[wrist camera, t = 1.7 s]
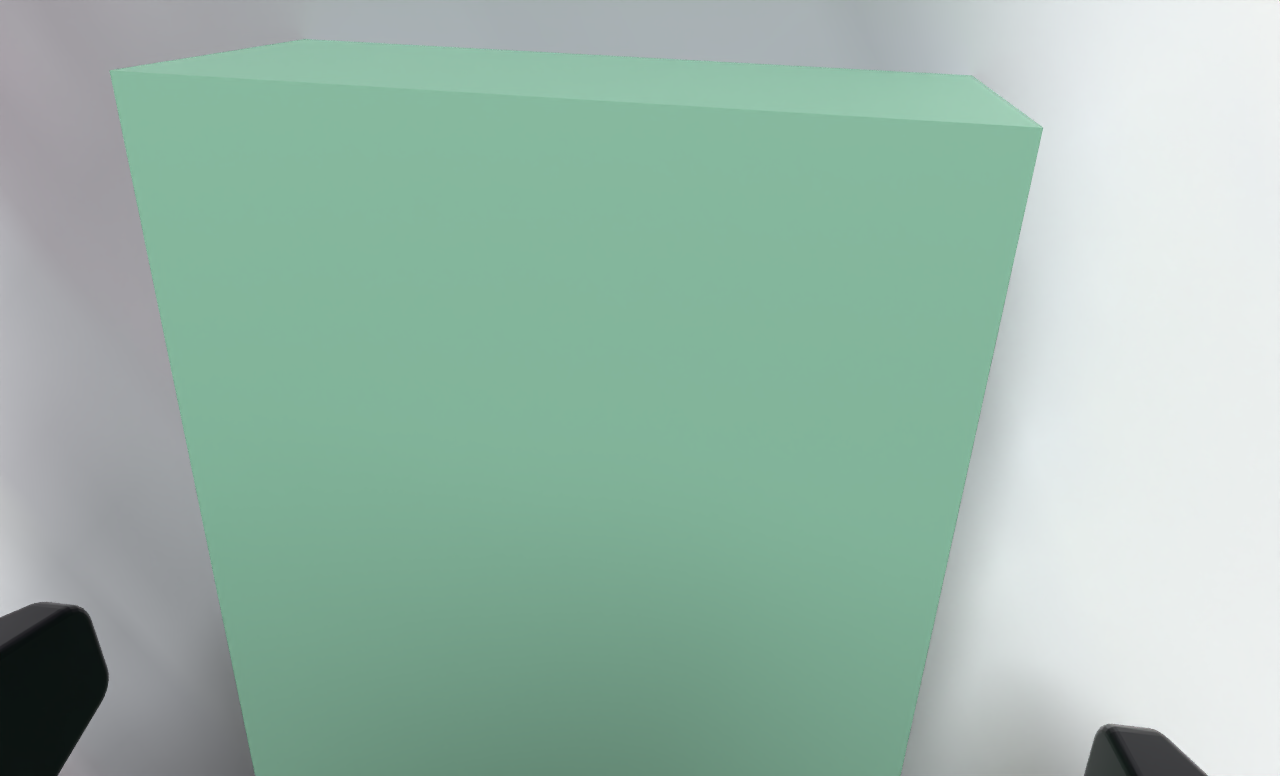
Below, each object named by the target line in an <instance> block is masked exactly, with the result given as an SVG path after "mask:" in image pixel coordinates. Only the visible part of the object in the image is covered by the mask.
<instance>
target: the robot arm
mask: <svg viewBox="0 0 1280 776" xmlns="http://www.w3.org/2000/svg"><path fill="white" fill-rule="evenodd" d="M108 681H109V673H108V668H107V665H106V662H105V659H104V656H103V653H102V650H101V647H100V644H99V641H98V638H97V635H96V632H95V629H94V626H93V623H92V620H91V618H90V616H89V614H88V613H87V612H86V611H85V610H84V609H83V608H81V607H79V606H76V605H69V604H60V603H52V602H39V603H34V604H31V605H29V606H26V607H24V608H21V609H19V610H17V611H14V612H12V613H10V614H7V615H5V616H2V617H0V776H58V774H59V772H60V771H61V769H62V767H63V766H64V764H65V762H66V761H67V759H68V757H69V756H70V754H71V752H72V751H73V749H74V747H75V746H76V744H77V742H78V741H79V739H80V737H81V736H82V734H83V732H84V731H85V729H86V727H87V726H88V724H89V722H90V721H91V719H92V717H93V715H94V714H95V712H96V710H97V709H98V707H99V705H100V704H101V702H102V700H103V698H104V696H105V693H106V691H107V687H108ZM1084 776H1208V775H1207V774H1206V773H1205V772H1204V771H1202V770H1201V769H1200V768H1199V767H1198V766H1197V765H1196V764H1195V763H1194V762H1193V761H1192V760H1191V759H1190V758H1189V757H1187V756H1186V755H1185V754H1184V753H1183V752H1182V751H1181V750H1180V749H1179V748H1178V747H1177V746H1176V745H1175V744H1174V743H1172V742H1171V741H1170V740H1169V739H1168V738H1167V737H1166V736H1165V735H1163V734H1162V733H1160V732H1158V731H1157V730H1154V729H1150V728H1143V727H1134V726H1125V725H1117V724H1107V725H1104V726H1102V727H1100V729H1099V730H1098V731H1097V733H1096V735H1095V738H1094V741H1093V745H1092V748H1091V752H1090V756H1089V759H1088V763H1087V766H1086V770H1085V774H1084Z"/></svg>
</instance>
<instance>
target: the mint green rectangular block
mask: <svg viewBox="0 0 1280 776" xmlns="http://www.w3.org/2000/svg"><path fill="white" fill-rule="evenodd" d="M110 75H111V80H112V84H113V89H114V94H115V99H116V104H117V109H118V114H119V118H120V123H121V128H122V133H123V138H124V143H125V147H126V152H127V157H128V162H129V167H130V172H131V177H132V181H133V186H134V191H135V196H136V201H137V206H138V210H139V215H140V220H141V225H142V230H143V235H144V240H145V244H146V249H147V254H148V259H149V264H150V269H151V274H152V278H153V283H154V288H155V293H156V298H157V303H158V307H159V312H160V317H161V322H162V327H163V332H164V337H165V341H166V346H167V351H168V356H169V361H170V366H171V371H172V375H173V380H174V385H175V390H176V395H177V400H178V404H179V409H180V414H181V419H182V424H183V429H184V434H185V438H186V443H187V448H188V453H189V458H190V463H191V467H192V472H193V477H194V482H195V487H196V492H197V497H198V501H199V506H200V511H201V516H202V521H203V526H204V531H205V535H206V540H207V545H208V550H209V555H210V560H211V564H212V569H213V574H214V579H215V584H216V589H217V594H218V598H219V603H220V608H221V613H222V618H223V623H224V628H225V632H226V637H227V642H228V647H229V652H230V657H231V661H232V666H233V671H234V676H235V681H236V686H237V691H238V695H239V700H240V705H241V710H242V715H243V720H244V724H245V729H246V734H247V739H248V744H249V749H250V754H251V758H252V763H253V768H254V773H255V776H900V775H901V770H902V766H903V761H904V757H905V752H906V748H907V743H908V739H909V734H910V730H911V725H912V720H913V716H914V711H915V707H916V702H917V698H918V693H919V689H920V684H921V680H922V675H923V671H924V666H925V661H926V657H927V652H928V648H929V643H930V639H931V634H932V630H933V625H934V621H935V616H936V612H937V607H938V602H939V598H940V593H941V589H942V584H943V580H944V575H945V571H946V566H947V562H948V557H949V552H950V548H951V543H952V539H953V534H954V530H955V525H956V521H957V516H958V512H959V507H960V503H961V498H962V493H963V489H964V484H965V480H966V475H967V471H968V466H969V462H970V457H971V453H972V448H973V443H974V439H975V434H976V430H977V425H978V421H979V416H980V412H981V407H982V403H983V398H984V394H985V389H986V384H987V380H988V375H989V371H990V366H991V362H992V357H993V353H994V348H995V344H996V339H997V334H998V330H999V325H1000V321H1001V316H1002V312H1003V307H1004V303H1005V298H1006V294H1007V289H1008V285H1009V280H1010V275H1011V271H1012V266H1013V262H1014V257H1015V253H1016V248H1017V244H1018V239H1019V235H1020V230H1021V225H1022V221H1023V216H1024V212H1025V207H1026V203H1027V198H1028V194H1029V189H1030V185H1031V180H1032V176H1033V171H1034V166H1035V162H1036V157H1037V153H1038V148H1039V144H1040V139H1041V135H1042V130H1043V127H1041V126H1040V125H1039V124H1037V123H1036V122H1034V121H1033V120H1032V119H1030V118H1029V117H1028V116H1026V115H1025V114H1024V113H1022V112H1021V111H1019V110H1018V109H1017V108H1015V107H1014V106H1013V105H1011V104H1010V103H1009V102H1007V101H1006V100H1004V99H1003V98H1002V97H1000V96H999V95H998V94H996V93H995V92H993V91H992V90H991V89H989V88H988V87H987V86H985V85H984V84H983V83H981V82H980V81H978V80H977V79H976V78H974V77H973V76H969V75H950V74H932V73H914V72H895V71H877V70H859V69H840V68H822V67H804V66H786V65H767V64H749V63H731V62H712V61H694V60H676V59H657V58H639V57H621V56H602V55H584V54H566V53H547V52H529V51H511V50H492V49H474V48H456V47H437V46H419V45H401V44H382V43H364V42H346V41H327V40H309V39H303V40H297V41H290V42H284V43H278V44H272V45H265V46H259V47H253V48H247V49H240V50H234V51H228V52H222V53H215V54H209V55H203V56H197V57H191V58H184V59H178V60H172V61H166V62H159V63H153V64H147V65H141V66H134V67H128V68H122V69H116V70H110Z"/></svg>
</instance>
